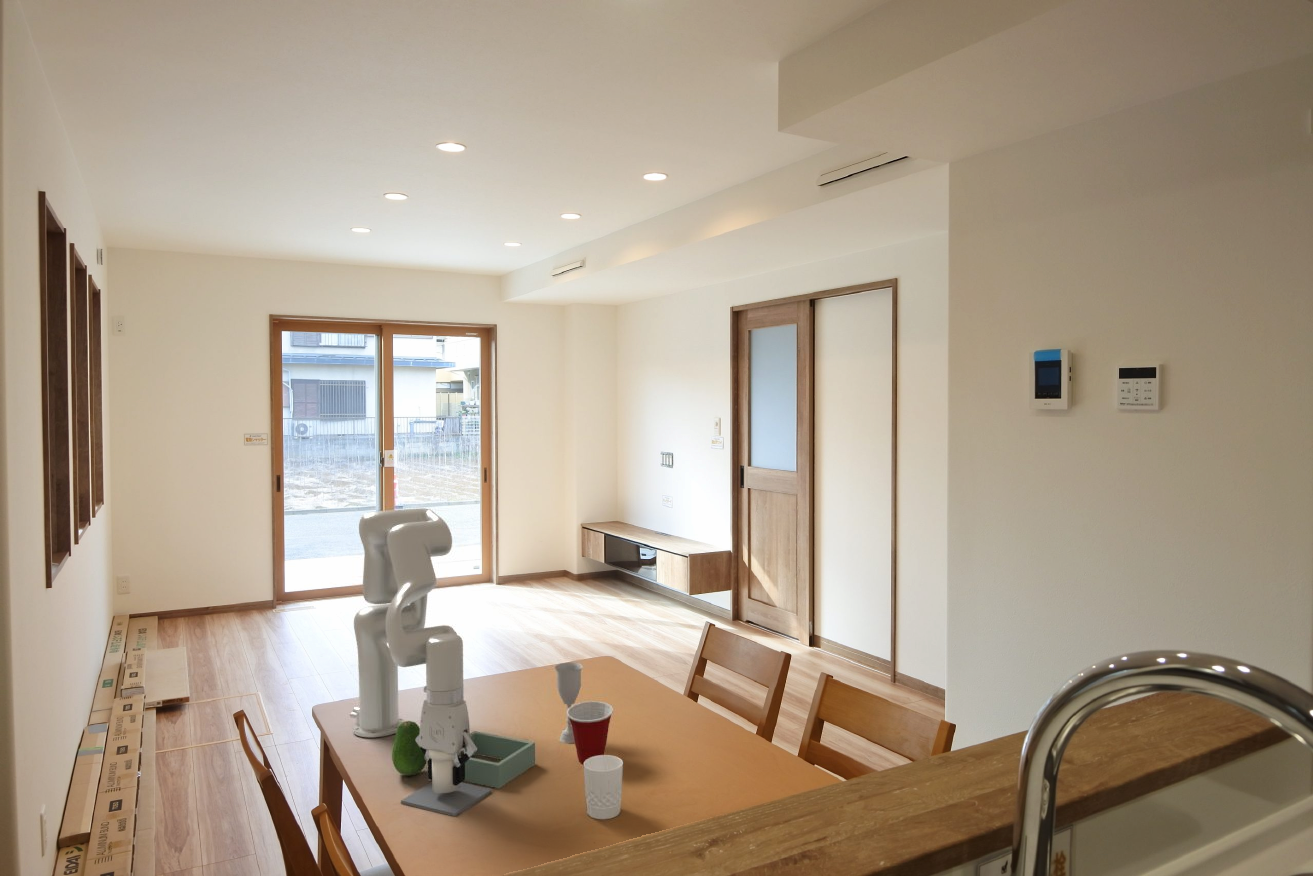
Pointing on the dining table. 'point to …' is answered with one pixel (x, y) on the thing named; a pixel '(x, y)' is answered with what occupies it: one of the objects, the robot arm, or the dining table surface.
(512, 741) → the green open box
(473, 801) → the mat
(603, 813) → the white cup
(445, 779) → the white mushroom shaped cylinder
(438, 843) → the dining table surface
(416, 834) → the dining table surface
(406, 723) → the avocado
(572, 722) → the plastic cup
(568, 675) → the chalice
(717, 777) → the dining table surface
